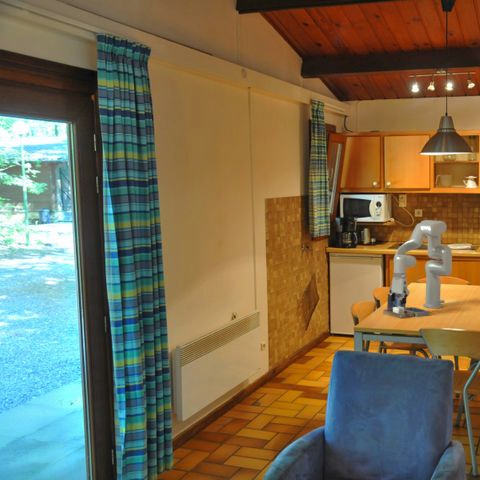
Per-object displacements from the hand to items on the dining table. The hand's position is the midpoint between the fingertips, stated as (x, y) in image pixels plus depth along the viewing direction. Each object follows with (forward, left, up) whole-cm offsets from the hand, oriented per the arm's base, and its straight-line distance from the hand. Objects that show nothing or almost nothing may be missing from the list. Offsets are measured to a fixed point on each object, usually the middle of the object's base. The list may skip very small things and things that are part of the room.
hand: (398, 302), depth 448 cm
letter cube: (-1, 0, -9) cm, 9 cm away
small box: (-13, -14, -9) cm, 21 cm away
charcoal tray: (-13, +2, -9) cm, 15 cm away
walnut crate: (-1, 0, -9) cm, 9 cm away
